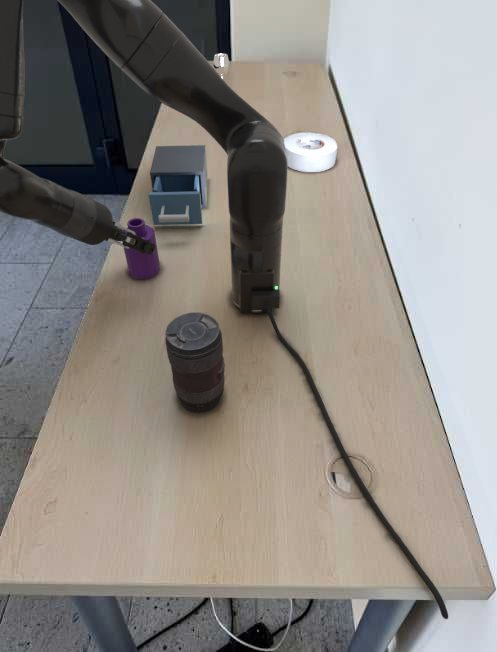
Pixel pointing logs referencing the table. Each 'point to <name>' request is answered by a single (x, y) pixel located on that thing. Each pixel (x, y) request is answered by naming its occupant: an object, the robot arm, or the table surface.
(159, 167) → the grey cabinet
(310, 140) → the tape roll
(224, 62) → the wineglass
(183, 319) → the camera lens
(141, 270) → the bottle
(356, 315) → the table surface
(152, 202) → the drawer
